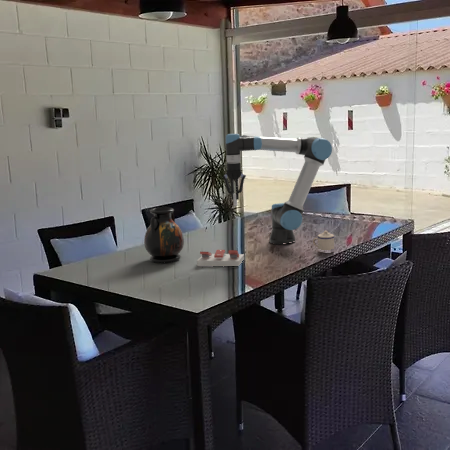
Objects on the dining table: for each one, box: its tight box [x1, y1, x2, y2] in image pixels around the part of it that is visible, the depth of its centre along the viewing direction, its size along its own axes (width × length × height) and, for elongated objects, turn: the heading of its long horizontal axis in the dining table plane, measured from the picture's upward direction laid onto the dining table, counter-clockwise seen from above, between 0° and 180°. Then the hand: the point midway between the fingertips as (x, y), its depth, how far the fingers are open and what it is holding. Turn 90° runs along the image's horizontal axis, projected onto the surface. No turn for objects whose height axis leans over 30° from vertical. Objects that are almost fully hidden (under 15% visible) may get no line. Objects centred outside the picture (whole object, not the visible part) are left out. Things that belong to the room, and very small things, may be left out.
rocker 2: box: [214, 249, 226, 258], centre depth 304 cm, size 4×6×3 cm
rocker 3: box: [227, 249, 240, 258], centre depth 302 cm, size 4×6×3 cm
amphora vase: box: [143, 206, 185, 264], centre depth 315 cm, size 22×22×28 cm
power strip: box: [196, 253, 245, 268], centre depth 306 cm, size 22×14×3 cm, turn 77°
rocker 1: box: [199, 251, 212, 258], centre depth 305 cm, size 4×6×3 cm
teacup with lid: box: [312, 230, 335, 250], centre depth 319 cm, size 12×9×12 cm
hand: (235, 205), depth 322 cm, fingers closed
